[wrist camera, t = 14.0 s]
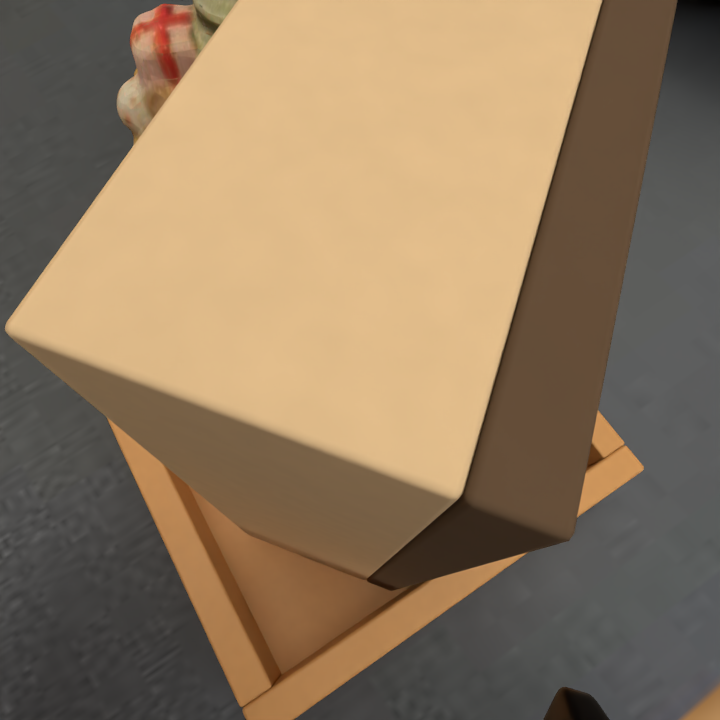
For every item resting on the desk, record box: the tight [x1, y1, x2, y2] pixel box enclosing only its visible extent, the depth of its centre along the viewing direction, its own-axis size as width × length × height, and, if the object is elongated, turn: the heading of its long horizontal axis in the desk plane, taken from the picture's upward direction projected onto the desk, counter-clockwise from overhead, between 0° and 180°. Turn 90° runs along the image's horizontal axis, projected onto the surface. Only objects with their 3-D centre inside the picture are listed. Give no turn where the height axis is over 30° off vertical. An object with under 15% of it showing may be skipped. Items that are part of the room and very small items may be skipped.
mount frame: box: [107, 411, 644, 720], centre depth 17 cm, size 12×12×3 cm
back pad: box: [5, 0, 677, 591], centre depth 11 cm, size 4×7×13 cm, turn 160°
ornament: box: [117, 0, 238, 144], centre depth 18 cm, size 8×6×10 cm
